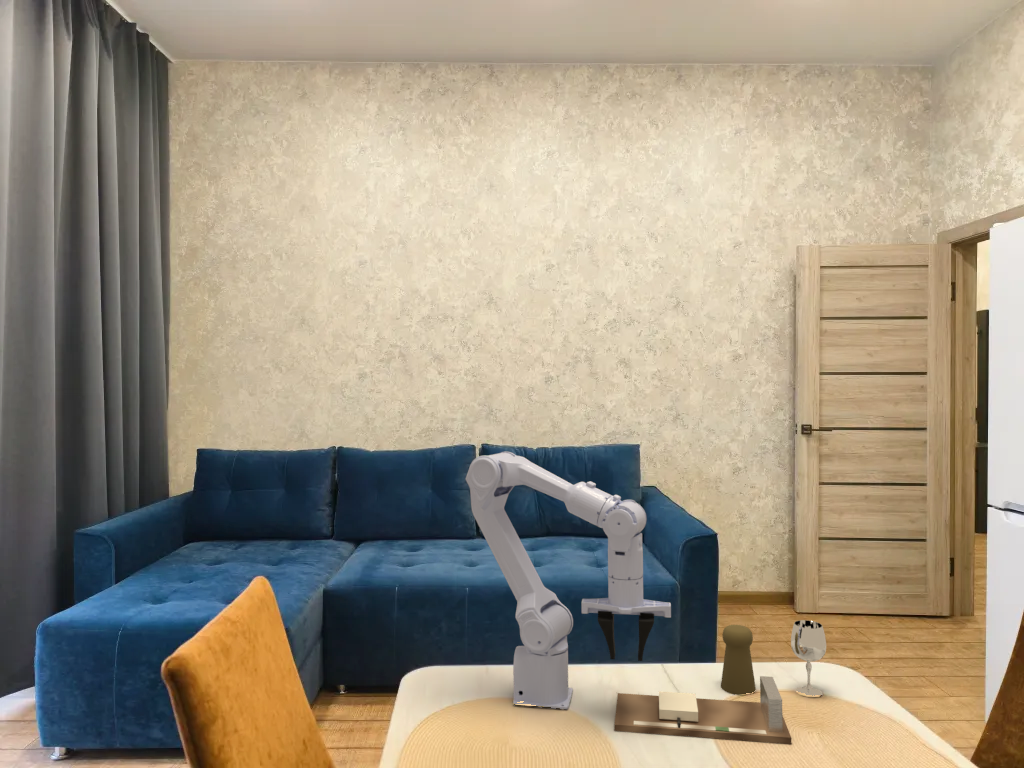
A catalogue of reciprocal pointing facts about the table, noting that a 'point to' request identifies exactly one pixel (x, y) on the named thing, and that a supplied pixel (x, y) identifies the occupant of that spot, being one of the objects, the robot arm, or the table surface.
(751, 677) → the cork
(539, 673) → the robot arm
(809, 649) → the wineglass
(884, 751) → the table surface
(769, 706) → the gray stone tile
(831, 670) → the table surface
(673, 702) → the carriage
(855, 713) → the table surface
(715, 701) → the gauge base
